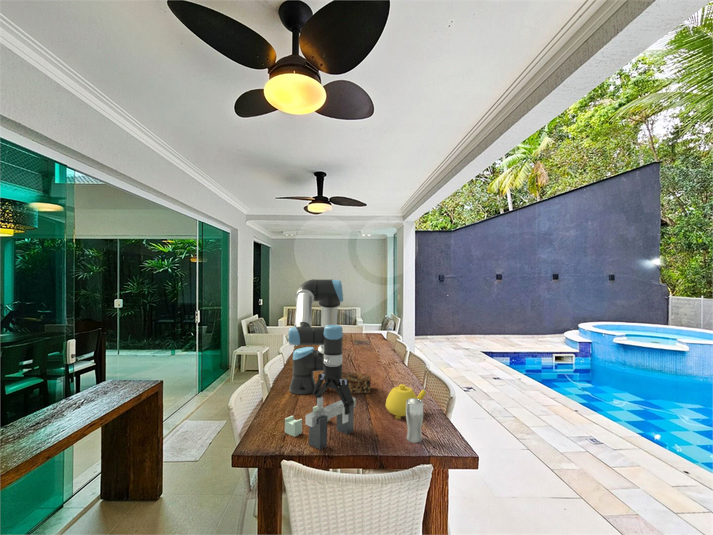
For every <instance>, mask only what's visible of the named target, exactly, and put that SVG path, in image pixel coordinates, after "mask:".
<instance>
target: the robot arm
mask: <svg viewBox="0 0 713 535" xmlns="http://www.w3.org/2000/svg"><path fill="white" fill-rule="evenodd" d="M343 292H344V291H343V285H342V281H341V280H339V279H314V278H313V279H308V280H306V281H305V282H303V283H302V284H300V285H299V287H298V288H297V289H296V291H295V293H294V300H295V304H296V305H295V313H294V325H293V327H289V329H288V337H287V340H288V344H289V345H291V346H306V347H300V348H296V349H295V350H294V351H293V352H292V353H293V354H292V378H291V381H290V385H289V387H288V388H289V390H288V391H289V392H290V394H294V395H309V394H312V395H313V396H315V398H316V399H315V400H316V401H315V404H316V405H315V406H317V410H319V409H321V408H324V396H323V395H324V393H325V392H326V391H327V389H328V388H330V389H332V390H334V391H335V392H337V395H338V397H339V398H340V400H342V402H343V404H344V406H342V423H343V424H344V423H346V422H348V414H349V413H350V406H351V405H353V404H354V401H353V398H354V397H353V395H352V393H351V392H350V389H349V386H348V379H342V378H341V375H342V372H343V365H342V364H343V342H344V341H343V336H344V332H343V331H344V330H343V327H342V326H341V325H339V324H337V323H338V308H339V307H340V306H341V303H342V302H344V294H343ZM313 302H318V306H319V307H321V310H320V311H321V312H320V315H321V316H320V318H321V320H320V321H321V322H320V326H312V315H313V314H312V311H313V310H312V309H313ZM313 346H318V348H317V349H315V348H314V347H313ZM314 372H322V373H319V374H318V377H317V378H318V379H317V381H316V380H315V377H314ZM338 387H339V388H338ZM352 397H353V398H352ZM346 402H347V403H346Z"/></svg>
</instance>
